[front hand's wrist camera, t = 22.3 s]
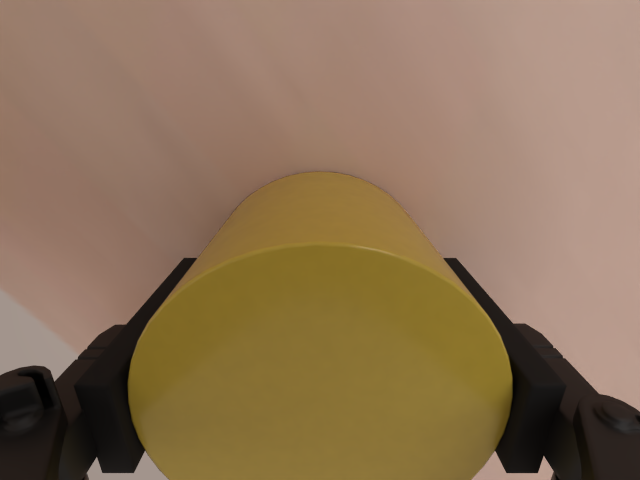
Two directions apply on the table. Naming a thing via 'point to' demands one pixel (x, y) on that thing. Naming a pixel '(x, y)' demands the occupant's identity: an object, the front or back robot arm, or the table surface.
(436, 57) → the table surface
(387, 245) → the tin
